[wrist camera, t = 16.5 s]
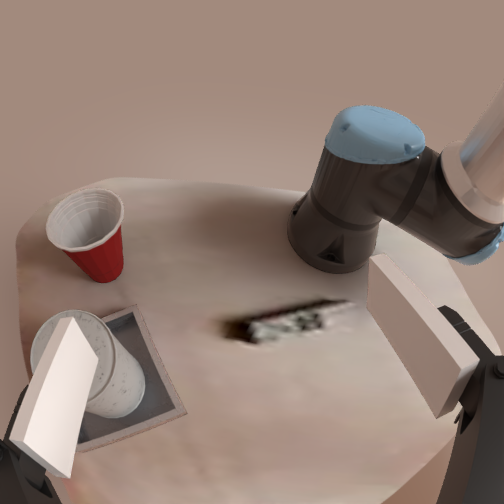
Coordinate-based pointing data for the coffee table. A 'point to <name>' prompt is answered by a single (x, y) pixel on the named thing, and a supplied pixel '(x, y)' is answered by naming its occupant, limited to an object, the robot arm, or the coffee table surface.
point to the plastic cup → (90, 231)
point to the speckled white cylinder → (100, 365)
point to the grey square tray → (155, 395)
